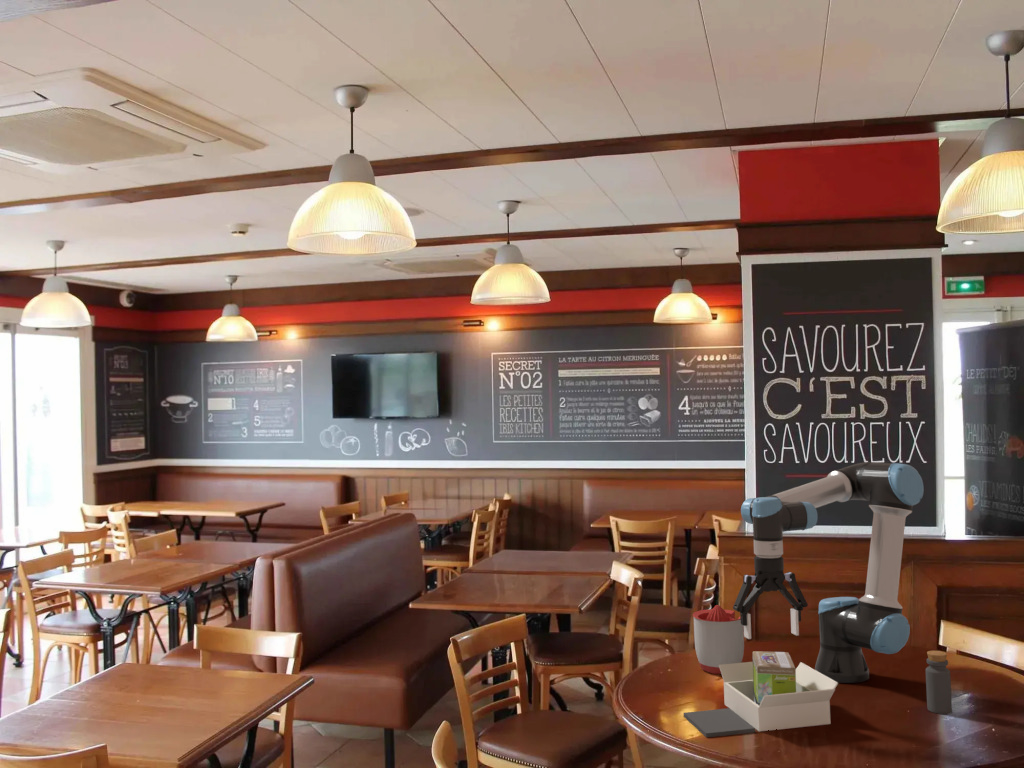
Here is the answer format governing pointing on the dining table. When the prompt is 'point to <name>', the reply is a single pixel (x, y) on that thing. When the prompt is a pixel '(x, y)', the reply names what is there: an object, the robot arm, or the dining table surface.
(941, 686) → the bottle
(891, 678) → the dining table surface
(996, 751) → the dining table surface
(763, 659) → the tea box
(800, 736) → the dining table surface
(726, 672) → the carton
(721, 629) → the citrus juicer
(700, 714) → the mat
